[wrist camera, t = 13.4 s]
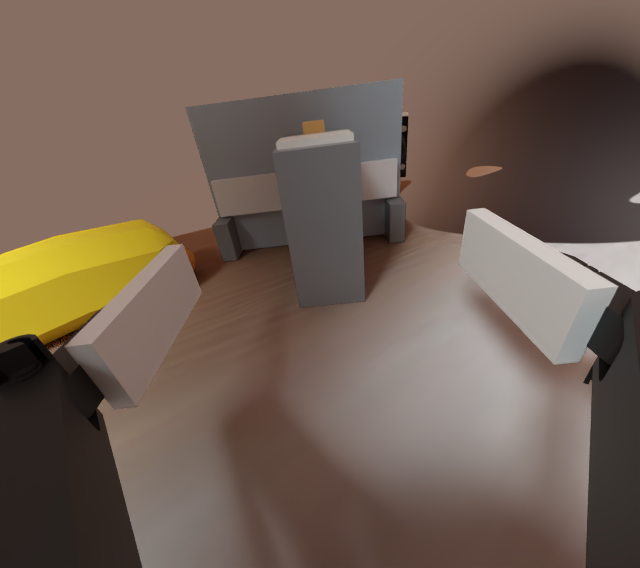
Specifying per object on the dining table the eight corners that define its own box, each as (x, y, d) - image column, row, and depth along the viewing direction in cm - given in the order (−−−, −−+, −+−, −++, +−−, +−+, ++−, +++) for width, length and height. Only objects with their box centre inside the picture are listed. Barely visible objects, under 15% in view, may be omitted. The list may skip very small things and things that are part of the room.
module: (300, 308, 22) (267, 133, 16) (303, 247, 31) (284, 122, 25) (365, 301, 22) (359, 121, 16) (349, 242, 31) (341, 115, 25)
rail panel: (223, 261, 31) (173, 107, 23) (233, 244, 34) (193, 107, 27) (404, 241, 30) (412, 75, 22) (393, 226, 34) (397, 79, 26)
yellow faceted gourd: (-27, 339, 24) (-57, 399, 18) (-98, 268, 20) (-161, 317, 15) (191, 260, 32) (215, 286, 27) (168, 201, 29) (189, 216, 23)
